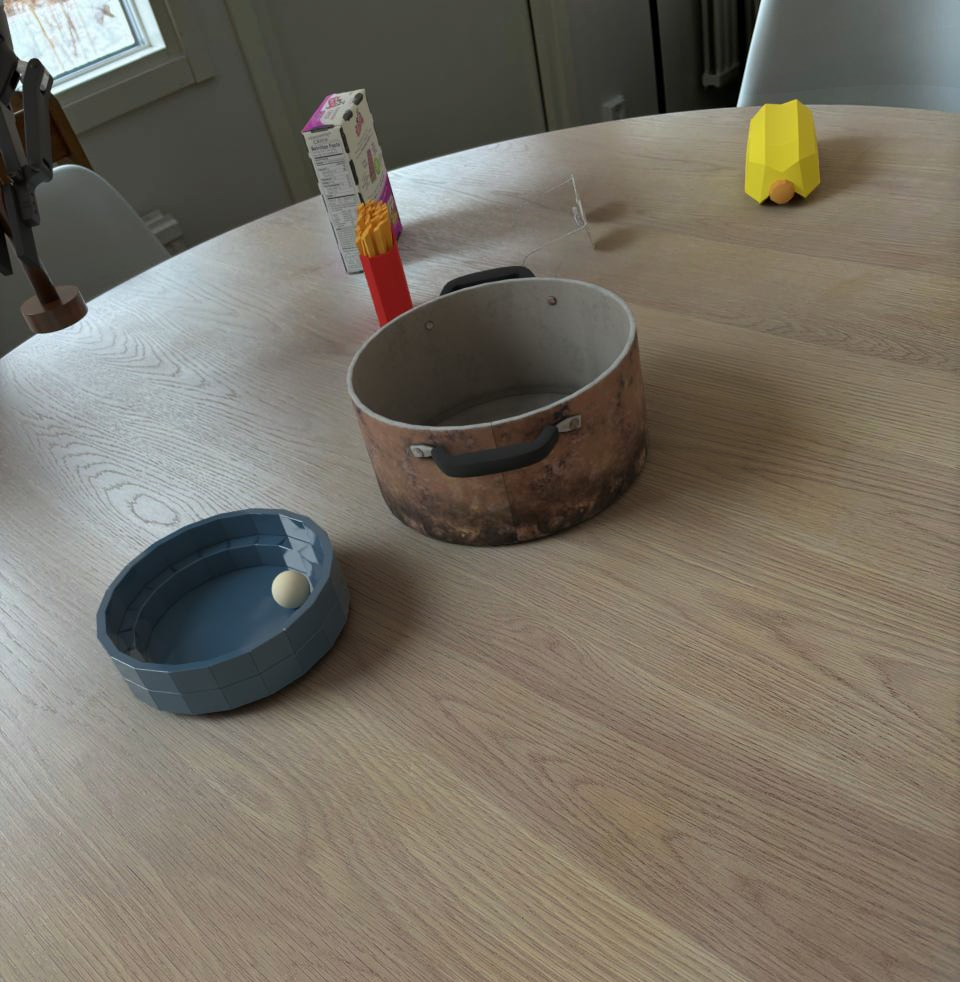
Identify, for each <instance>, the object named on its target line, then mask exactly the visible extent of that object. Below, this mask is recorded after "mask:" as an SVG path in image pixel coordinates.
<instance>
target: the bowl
mask: <svg viewBox="0 0 960 982" xmlns="http://www.w3.org/2000/svg"><path fill="white" fill-rule="evenodd" d="M289 570H293V571H297V572H300V573H302V574H303V575H304V576H305V577H306V578H307V579H308V581H309V584H310V596H309V597H308V599H307V600H306V602H305V603H304V604H303V605H302V606H300V607H298V608H293V609H289V608H285V607H282V606H281V605H279V604H278V603H277V602H276V601H275V599H274V597H273V595H272V584H273V581H274V580H275V578H276V577H277V576H278V575H279V574H280V573H282V572H285V571H289ZM350 602H351V593H350V590H349V588H348V585H347V582H346V578H345V577H344V574H343V571H342V569H341V566H340V563H339V560H338V558H337V555H336V552H335V550H334V548H333V545H332V543H331V540H330V537H329V534H328V532H327V531H326V530H325V529H324V528H323V527H321V526H320V525H319V524H318V523H317V522H315V521H314V519H312V518H310V517H309V516H307V515H304V514H300V513H297V512H294V511H291V510H288V509H284V508H265V507H264V508H263V507H251V508H244V509H239V510H234V511H228V512H227V511H225V512H221V513H217V514H214V515H212V516H209V517H206V518H202V519H200V520H198V521H195V522H191V523H189V524H185V525H184V526H182V527H180V528H178V529H177V530H174V531H172V532H171V533H169V534H167V535H166V536H164V537H162V538H160V539H158V540H156V541H154V542H153V543H152V544H150V545H149V546H148V547H147V548H145V549H144V550H143V551H142V552H140V553H139V554H138V555H137V556H135V557H134V558H133V559H132V560H130V561H129V562H128V563H126V565H125V566H124V567H123V568H122V570H121V571H120V572H119V573H118V574H117V575H116V576H115V578H114V579H113V581H112V582H111V583H110V584H109V585H108V587H106V589H105V592H104V594H103V596H102V599H101V601H100V603H99V607H98V609H97V611H96V614H95V619H96V620H95V621H96V639H97V640H98V642H99V643H100V645H101V646H102V648H103V650H104V651H105V653H106V655H107V656H108V658H109V659H110V661H111V663H112V664H113V666H114V668H115V669H116V671H117V673H118V674H119V675H120V677H121V678H122V681H124V683H125V685H126V686H127V687H128V689H129V691H130V692H131V693H132V695H133V696H134V698H135V699H136V700H139V701H140V702H142V703H144V704H146V705H148V706H150V707H152V708H154V709H156V710H158V711H160V712H166V713H175V714H184V715H191V716H196V715H203V714H211V713H219V712H225V711H232V710H234V709H237V708H240V707H242V706H246V705H248V704H251V703H253V702H256V701H259V700H261V699H265V698H267V697H270V696H272V695H273V694H275V693H277V692H278V691H280V690H282V689H283V688H285V687H287V686H288V685H290V684H292V683H293V682H295V681H296V680H298V679H299V678H301V677H303V676H304V675H305V674H307V672H309V671H310V669H312V667H314V666H315V665H316V664H317V662H319V661H320V660H321V659H322V658H323V657H324V656H325V655H326V654H327V653H328V652H329V651H330V650H331V649H332V647H333V646H334V644H335V643H336V640H337V639H338V638H339V635H340V634H341V633H342V631H343V629H344V627H345V625H346V623H347V621H348V615H349V608H350Z"/></svg>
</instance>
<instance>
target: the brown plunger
mask: <svg viewBox="0 0 960 982" xmlns="http://www.w3.org/2000/svg"><path fill="white" fill-rule="evenodd" d="M2 185H4V182H3V180H2V179H1V177H0V225H1V227H2V229H3V231H4V233H5V238H6V240H7V241H8V243H9V245H10V246H11V249H12V251H13V253H14V255H15V256H16V259H17V260H18V262H19V264H20V266H21V268H22V270H23V272H24V274H25V276H26V278H27V280H28V282H29V283H30V287H32V290H33V291H34V293H35V294H34V295H33V296H31V297H30V298H27V300H25V301H24V302H23V303H22V304H21V306H20V312H21V314H22V316H23V318H24V320H25V322H26V324H27V325H28V327H29V330H30V331H31V332H32V333H33V334H37V335H38V334H39V335H47V334H52V333H56V332H61V331H63V330H65V329H67V328H70V327H71V326H73V325H75V324H77V323H79V322H80V321H82V320H83V319H84V318H85V317H86V316H87V315H88V312H89V307H88V305H87V303H86V301H85V299H84V297H83V295H82V293H81V291H80V288H79V287H77V286H75V285H70V284H69V285H68V284H67V285H65V284H64V285H59V286H55V285H54V284H53V281H52V279H51V277H50V275H49V273H48V271H47V269H46V266H45V265H44V263H43V261H42V259H41V256H40V254H39V252H37V255H38V259H39V264H40V268H36V269H31V268H30V267H29V266H27V265H26V264H25V263H24V262H23V261H21V260H20V259H19V258H18V257H17V254H16V249H15V244H14V240H13V235H12V231H11V226H10V221H9V217H8V212H7V208H6V203H5V199H4V194H3V189H2Z"/></svg>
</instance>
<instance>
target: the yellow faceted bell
mask: <svg viewBox="0 0 960 982" xmlns="http://www.w3.org/2000/svg"><path fill="white" fill-rule="evenodd" d="M817 139H818V138H817V134H816V127H815V122H814V115H813V111H812V110H811V109H809V108H808V107H807V106H806V105H804V104H803V103H802V102H801V101H800V100H798V99H797V98H795V99H792V100H790V101H786V102H784V103H780V104H779V103H764V105H763V106H762V107H761V108H760V109H759V110H758V111H757V112H756V114H755V115H754V116H753V117H752V118H751V119H750V121H749V128H748V137H747V144H746V150H745V151H746V153H745V171H744V172H745V173H744V177H745V178H744V193H745V194H746V195H748V196H749V197H750V198H751V199H752V200H754V201H755V202H756V203H757V204H759V205H762V204H763V203H764V202H765V201H766V200H767V199H770V200H771V201H772V202H774V203H776V204H778V205H782V204H787V203H788V202H789V201H790V200H792V198H794V196H795V193H797V194H798V195H800V196H801V198H803V199H804V200H805V199H806V198H807V197H808V196H809V195H810V194H811V193H812V192H813V191H814V190H815V189H816V188H817V187H818V186H819V184H820V183H821V175H820V157H819V149H818V147H819V146H818V140H817Z"/></svg>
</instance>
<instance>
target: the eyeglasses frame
mask: <svg viewBox="0 0 960 982" xmlns="http://www.w3.org/2000/svg"><path fill="white" fill-rule="evenodd" d="M571 182H572V185H573V189H574V193H575V197H576V198H575V202H576V203H577V205H578V207H576V206H572V208H571V210H572V212H573V214H574V216H573V218H574V220H575V223H576V224H577V226H578V227H579V228H577V229H575V230H572V231H571V232H569V233H567V234H565V235H563V236H561V237H559V238H557V239H555V240H553V241H551V242H549V243H547V244H545V245H542V246H540V247H537V248H536V249H534V250H532V251H529V253H527V254H526V255H525V256H524V259H523V261H522V263H521V266H525V263H526V261H527V258H528V257H529V256H530V255H532V254H534V253H535V252H537V251H540V250H542V249H543V248H545V247H547V246H549V245H551V244H553V243H556V242H558V241H561V240H562V239H565V238H566V237H569V236H572V235H573V234H575V233H578V232H579V231H582V230H584V229H586V233H587V235H588V238H589V241H590V243H591V246H592V249H593V250H595V249H596V247H595V243H594V240H593V237H592V235H591V231H590V228H589V225H588V220H587V219H588V218H587V216H586V213H585V210H584V207H583V204H582V201H581V198H580V195H579V191H578V189H577V185H576V183H575V178H574V175H573V173H572V174H570V179H568V180H566V181H565V182H562V183H560V184H559V185H557V186H554V187H553V188H552V189H549V190H548V191H546V192H544V193H542V194H540V195H539V196H537V197H535V198H533V199H530V200H529V201H527V202H525V203H523V204H521V205H520V206H519V207H518V209H516V213H515V215H514V219H513V222H512V225H511V227H513V228H514V227H515V225H516V221H517V217H518V214H519V212H520V210H521V209H522V208H524V207H525V206H526V205H528V204H530V203H532V202H533V201H535V200H537V199H539V198H541V197H543V196H545V195H546V194H548V193H550V192H552V191H554V190H556V189H559V188H560V187H562V186H565V185H566V184H568V183H571ZM582 221H583V223H584V225H583V223H582Z"/></svg>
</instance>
